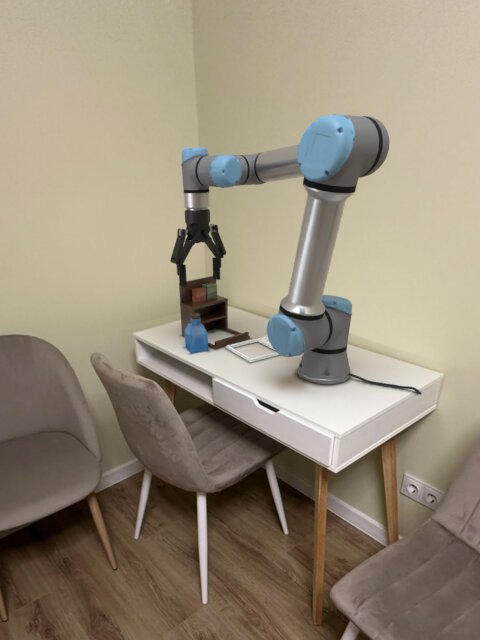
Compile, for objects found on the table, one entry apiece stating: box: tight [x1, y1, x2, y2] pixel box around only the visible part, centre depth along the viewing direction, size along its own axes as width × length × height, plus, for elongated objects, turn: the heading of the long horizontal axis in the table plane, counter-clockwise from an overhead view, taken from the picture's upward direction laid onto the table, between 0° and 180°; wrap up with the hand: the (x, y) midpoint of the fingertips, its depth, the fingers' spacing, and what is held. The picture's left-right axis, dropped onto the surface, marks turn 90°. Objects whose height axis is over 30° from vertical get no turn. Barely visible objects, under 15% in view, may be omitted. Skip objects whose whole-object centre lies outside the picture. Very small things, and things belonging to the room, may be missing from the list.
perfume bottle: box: [184, 313, 209, 355], centre depth 157 cm, size 6×6×12 cm
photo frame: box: [225, 335, 281, 363], centre depth 159 cm, size 15×1×18 cm
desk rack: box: [178, 275, 251, 350], centre depth 166 cm, size 19×16×19 cm
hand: (200, 282), depth 149 cm, fingers open, 13 cm apart
